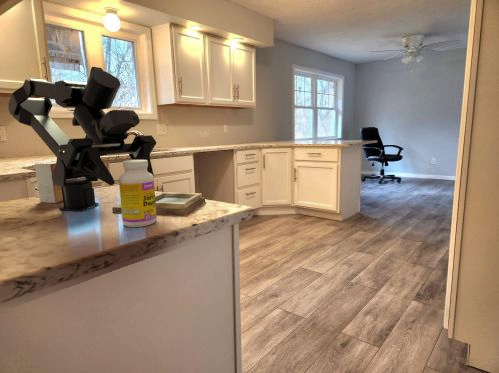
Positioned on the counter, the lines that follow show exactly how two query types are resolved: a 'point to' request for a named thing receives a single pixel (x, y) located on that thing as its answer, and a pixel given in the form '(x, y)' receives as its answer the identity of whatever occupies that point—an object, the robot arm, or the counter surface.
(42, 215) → the counter surface
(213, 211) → the counter surface
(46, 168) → the small box
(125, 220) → the supplement bottle
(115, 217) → the counter surface
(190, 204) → the brown shallow tray
